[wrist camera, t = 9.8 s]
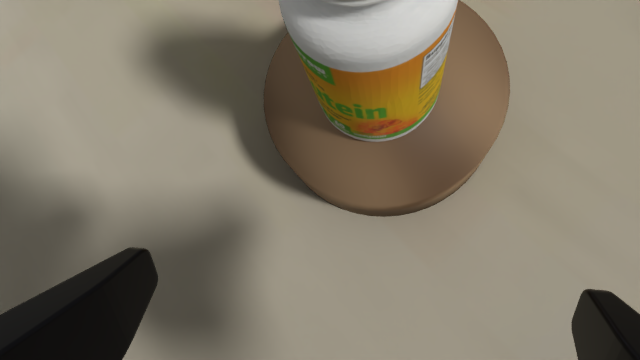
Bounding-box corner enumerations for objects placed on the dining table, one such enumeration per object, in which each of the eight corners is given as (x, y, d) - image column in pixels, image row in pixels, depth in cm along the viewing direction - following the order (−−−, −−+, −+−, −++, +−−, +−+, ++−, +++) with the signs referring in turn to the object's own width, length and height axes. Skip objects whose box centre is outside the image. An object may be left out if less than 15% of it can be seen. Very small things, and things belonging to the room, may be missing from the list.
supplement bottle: (299, 117, 19) (201, -45, 10) (351, 21, 20) (308, -216, 10) (407, 164, 17) (414, 26, 8) (460, 58, 18) (521, -179, 9)
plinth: (324, 251, 20) (311, 245, 17) (255, 71, 23) (234, 41, 21) (537, 162, 19) (561, 140, 16) (434, -11, 23) (439, -54, 20)
